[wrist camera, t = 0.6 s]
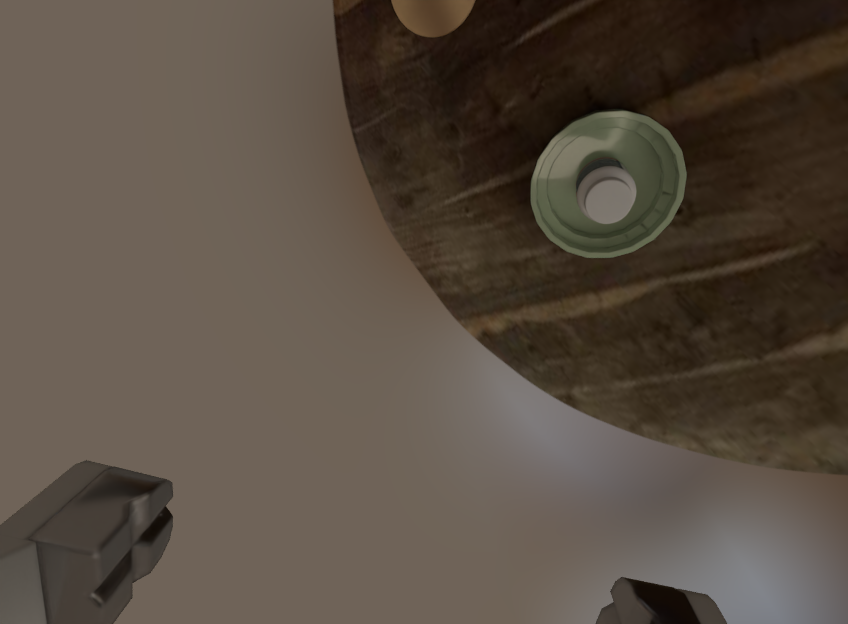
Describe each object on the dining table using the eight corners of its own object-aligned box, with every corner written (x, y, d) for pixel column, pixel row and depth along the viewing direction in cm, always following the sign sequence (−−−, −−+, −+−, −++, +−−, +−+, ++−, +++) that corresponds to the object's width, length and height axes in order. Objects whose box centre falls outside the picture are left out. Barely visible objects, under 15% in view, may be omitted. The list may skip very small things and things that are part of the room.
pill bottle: (565, 183, 48) (564, 202, 41) (605, 145, 46) (612, 158, 38) (599, 217, 49) (604, 242, 41) (640, 182, 46) (654, 201, 39)
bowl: (660, 83, 43) (668, 83, 39) (689, 223, 47) (699, 233, 44) (516, 142, 48) (512, 146, 45) (554, 261, 53) (553, 273, 49)
